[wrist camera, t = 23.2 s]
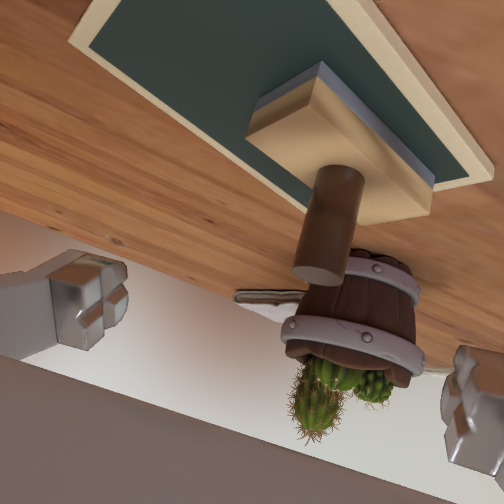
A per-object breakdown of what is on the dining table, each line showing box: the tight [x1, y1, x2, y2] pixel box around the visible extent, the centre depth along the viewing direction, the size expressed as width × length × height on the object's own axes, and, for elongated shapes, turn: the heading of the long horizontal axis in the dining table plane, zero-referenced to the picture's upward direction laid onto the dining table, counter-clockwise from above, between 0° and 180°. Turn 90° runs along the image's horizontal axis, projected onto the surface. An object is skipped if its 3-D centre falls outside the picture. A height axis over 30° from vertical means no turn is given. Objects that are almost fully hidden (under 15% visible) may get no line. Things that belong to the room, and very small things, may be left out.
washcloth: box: [232, 291, 306, 323], centre depth 70 cm, size 12×18×3 cm, turn 138°
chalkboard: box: [68, 0, 495, 214], centre depth 24 cm, size 22×15×1 cm
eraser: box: [245, 61, 435, 286], centre depth 23 cm, size 11×5×9 cm, turn 51°
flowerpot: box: [281, 250, 426, 446], centre depth 43 cm, size 14×15×20 cm
